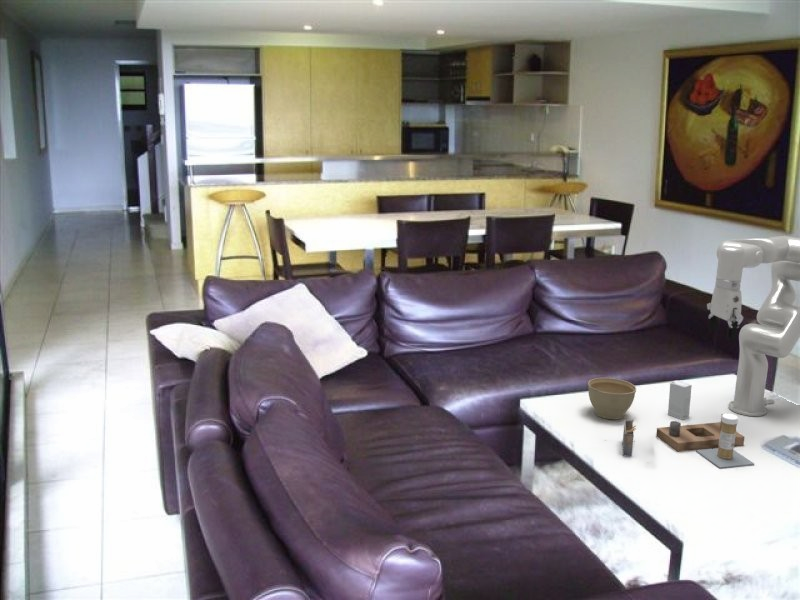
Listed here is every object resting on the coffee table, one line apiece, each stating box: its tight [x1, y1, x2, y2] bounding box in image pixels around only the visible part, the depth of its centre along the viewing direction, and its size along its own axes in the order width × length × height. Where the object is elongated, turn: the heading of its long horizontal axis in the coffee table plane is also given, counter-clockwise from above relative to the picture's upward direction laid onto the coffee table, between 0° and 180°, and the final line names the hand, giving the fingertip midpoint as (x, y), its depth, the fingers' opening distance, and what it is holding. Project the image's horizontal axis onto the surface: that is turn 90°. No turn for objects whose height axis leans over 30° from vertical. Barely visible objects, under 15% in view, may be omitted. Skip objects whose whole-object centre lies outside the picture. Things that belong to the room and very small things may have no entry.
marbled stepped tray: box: [622, 419, 637, 457], centre depth 248 cm, size 11×3×10 cm, turn 165°
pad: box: [695, 448, 755, 470], centre depth 243 cm, size 12×12×1 cm
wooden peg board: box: [656, 413, 746, 453], centre depth 255 cm, size 24×12×8 cm, turn 104°
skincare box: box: [667, 380, 693, 420], centre depth 274 cm, size 6×4×12 cm
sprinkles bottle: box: [717, 413, 739, 459], centre depth 242 cm, size 5×5×13 cm
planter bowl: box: [587, 377, 637, 420], centre depth 274 cm, size 16×16×11 cm
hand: (721, 334), depth 260 cm, fingers open, 9 cm apart
